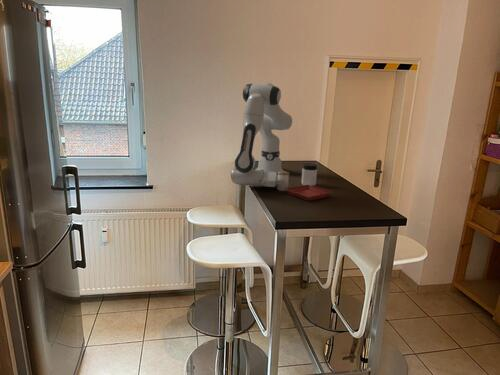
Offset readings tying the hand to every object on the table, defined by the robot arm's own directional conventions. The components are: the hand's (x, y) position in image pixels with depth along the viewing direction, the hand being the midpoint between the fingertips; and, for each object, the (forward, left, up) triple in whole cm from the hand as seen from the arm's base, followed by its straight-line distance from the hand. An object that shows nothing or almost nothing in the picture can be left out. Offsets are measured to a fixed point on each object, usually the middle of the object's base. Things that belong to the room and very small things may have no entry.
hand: (284, 180), depth 217 cm
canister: (0, -1, -6) cm, 6 cm away
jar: (-16, +14, -6) cm, 22 cm away
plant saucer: (+8, +13, -6) cm, 17 cm away
